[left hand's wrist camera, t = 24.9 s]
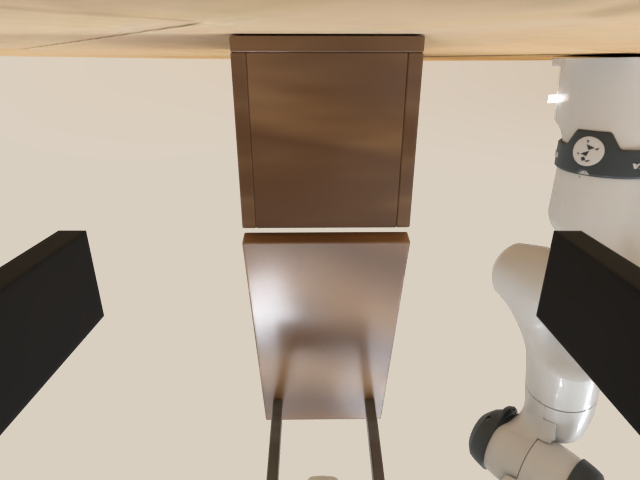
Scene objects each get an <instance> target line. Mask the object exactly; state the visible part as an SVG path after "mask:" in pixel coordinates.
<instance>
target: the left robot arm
mask: <svg viewBox="0 0 640 480" xmlns="http://www.w3.org/2000/svg"><path fill="white" fill-rule="evenodd" d="M103 316H104V314H103V309H102V305H101V300H100V295H99V290H98V286H97V281H96V276H95V271H94V267H93V262H92V257H91V252H90V248H89V243H88V238H87V234H86V231H57V232H56V233H54V234H53V235H51V236H49V237H48V238H46V239H45V240H43V241H41V242H40V243H38V244H37V245H35V246H33V247H32V248H30V249H29V250H27V251H25V252H24V253H22V254H21V255H19V256H17V257H16V258H14V259H13V260H11V261H10V262H8V263H6V264H5V265H3V266H1V267H0V435H1V434H2V433H3V431H4V430H5V429H6V428H7V427H8V426H9V425H10V423H11V422H12V421H13V420H14V419H15V418H16V417H17V415H18V414H19V413H20V412H21V411H22V410H23V408H24V407H25V406H26V405H27V404H28V403H29V402H30V400H31V399H32V398H33V397H34V396H35V395H36V393H37V392H38V391H39V390H40V389H41V388H42V387H43V385H44V384H45V383H46V382H47V381H48V380H49V378H50V377H51V376H52V375H53V374H54V373H55V372H56V370H57V369H58V368H59V367H60V366H61V365H62V364H63V362H64V361H65V360H66V359H67V358H68V357H69V355H70V354H71V353H72V352H73V351H74V350H75V349H76V347H77V346H78V345H79V344H80V343H81V342H82V340H83V339H84V338H85V337H86V336H87V335H88V334H89V332H90V331H91V330H92V329H93V328H94V327H95V325H96V324H97V323H98V322H99V321H100V320H101V319H102V317H103ZM536 316H537V317H538V319H539V320H540V321H541V322H542V323H543V324H544V326H545V327H546V328H547V329H548V330H549V331H550V332H551V334H552V335H553V336H554V337H555V338H556V339H557V340H558V342H559V343H560V344H561V345H562V346H563V347H564V349H565V350H566V351H567V352H568V353H569V354H570V355H571V357H572V358H573V359H574V360H575V361H576V362H577V364H578V365H579V366H580V367H581V368H582V369H583V370H584V372H585V373H586V374H587V375H588V376H589V377H590V378H591V380H592V381H593V382H594V383H595V384H596V385H597V387H598V388H599V389H600V390H601V391H602V392H603V393H604V395H605V396H606V397H607V398H608V399H609V400H610V402H611V403H612V404H613V405H614V406H615V407H616V408H617V410H618V411H619V412H620V413H621V414H622V415H623V416H624V418H625V419H626V420H627V421H628V422H629V423H630V425H631V426H632V427H633V428H634V429H635V430H636V431H637V433H638V434H639V435H640V267H639V266H637V265H635V264H634V263H632V262H631V261H629V260H627V259H626V258H624V257H623V256H621V255H619V254H618V253H616V252H615V251H613V250H611V249H610V248H608V247H607V246H605V245H603V244H602V243H600V242H599V241H597V240H595V239H594V238H592V237H591V236H589V235H587V234H586V233H584V232H583V231H554V234H553V238H552V243H551V248H550V252H549V257H548V262H547V267H546V271H545V276H544V281H543V285H542V290H541V295H540V300H539V304H538V309H537V314H536Z"/></svg>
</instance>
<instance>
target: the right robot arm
mask: <svg viewBox="0 0 640 480" xmlns="http://www.w3.org/2000/svg"><path fill="white" fill-rule="evenodd" d="M552 65H553V66H560V71H559V79H558V88H557V95H549V99H548V103H555V102H556V106H555V116H554V118H555V121H556V123H557V124H558V125H559V127H560V129H561V133H562V138H561V139H560V140H559V141H558V146H557V150H556V152H555V156H556V158H555V165H556V166H557V170H556V175H555V180H554V185H553V190H552V194H551V199H550V204H549V210H548V214H549V219H550V222H551V224H552V226H553V227H554V229H555V230H556V231H583V232H584V233H586V234H587V235H589V236H591V237H592V238H594V239H595V240H597V241H599V242H600V243H602V244H603V245H605V246H607V247H608V248H610V249H611V250H613V251H615V252H616V253H618V254H619V255H621V256H623V257H624V258H626V259H627V260H629V261H631V262H632V263H634V264H635V265H637V266H639V267H640V57H604V58H553V62H552ZM549 252H550V248H548V247H543V246H537V245H530V244H522V243H517V244H514V245H512V246H510V247H508V248H507V249H505V250H504V251H503V252H502V253H501V254H500V255H499V257H498V258H497V260H496V262H495V264H494V267H493V271H492V281H493V286H494V288H495V290H496V291H497V292H498V293H499V295H500V296H501V297H502V298H503V299H504V301H505V302H506V303H507V305H508V306H509V308H510V309H511V311H512V313H513V315H514V317H515V319H516V321H517V323H518V325H519V328H520V330H521V332H522V335H523V338H524V341H525V345H526V380H525V404H524V407H523V409H522V411H521V412H520V413H519V414H517V409H516V408H515V407H512V406H508V407H506V408H504V409H503V410H494V411H491V412H489V413H486V414H485V415H483V416H482V417H481V418H480V419H479V420H478V422H477V423H476V424H475V426H474V428H473V430H472V433H471V436H470V439H469V449H470V454H471V455H472V457H473V458H474V459H475V460H476V461H477V462H478V463H479V464H480V465H481V466H482V467H483V468H484V469H488V470H489V471H490V472H491V473H492V474H493V475H494V476H496V477H497V478H498V479H499V480H604V477H603V475H602V474H601V473H600V472H599V471H598V470H597V469H596V468H595V467H594V466H593V465H591V464H590V463H589V462H588V461H586V460H585V459H582V460H581V459H580V458H579V457H577V456H576V455H575V454H573V453H572V452H571V451H569V450H568V449H566V448H565V447H563V446H562V445H560V444H561V443H571V442H575V441H577V440H578V439H580V438H581V437H582V436H583V435H584V433H585V431H586V430H587V428H588V426H589V424H590V422H591V420H592V417H593V415H594V411H595V408H596V405H597V400H598V395H599V390H600V389H599V388H598V387H597V385H596V384H595V383H594V382H593V381H592V380H591V378H590V377H589V376H588V375H587V374H586V373H585V372H584V370H583V369H582V368H581V367H580V366H579V365H578V364H577V362H576V361H575V360H574V359H573V358H572V357H571V355H570V354H569V353H568V352H567V351H566V350H565V349H564V347H563V346H562V345H561V344H560V343H559V342H558V340H557V339H556V338H555V337H554V336H553V335H552V334H551V332H550V331H549V330H548V329H547V328H546V327H545V326H544V324H543V323H542V322H541V321H540V320H539V319H538V317H537V316H536V314H537V309H538V304H539V300H540V295H541V290H542V285H543V281H544V276H545V271H546V267H547V262H548V257H549ZM308 480H338V479H337V478H336V477H332V476H313V477H310V478H309V479H308Z"/></svg>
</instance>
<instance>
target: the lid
mask: <svg viewBox="0 0 640 480" xmlns="http://www.w3.org/2000/svg"><path fill="white" fill-rule="evenodd" d="M409 245H410V241H409V237H408V234H407V232H323V233H322V232H317V233H245V234H244V238H243V251H244V258H245V266H246V273H247V280H248V288H249V295H250V303H251V310H252V317H253V325H254V332H255V339H256V347H257V354H258V361H259V369H260V376H261V384H262V391H263V399H264V406H265V413H266V419H267V420H271V432H270V445H269V457H268V469H267V480H278V477H279V460H280V444H281V427H282V420H292V419H366V421H367V431H368V441H369V451H370V460H371V470H372V480H384V472H383V464H382V455H381V447H380V439H379V431H378V423H377V419H380V418H381V413H382V407H383V401H384V395H385V389H386V383H387V377H388V371H389V365H390V359H391V353H392V347H393V341H394V335H395V329H396V323H397V317H398V311H399V305H400V299H401V293H402V287H403V281H404V275H405V269H406V263H407V257H408V251H409Z"/></svg>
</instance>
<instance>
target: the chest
mask: <svg viewBox="0 0 640 480" xmlns="http://www.w3.org/2000/svg"><path fill="white" fill-rule="evenodd" d="M229 38H230V51H231V52H232V53H231V68H232V82H233V96H234V111H235V125H236V139H237V153H238V167H239V182H240V196H241V211H242V225H243V228H256V227H257V228H321V227H322V228H325V227H396V226H397V227H409V225H410V213H411V201H412V188H413V176H414V163H415V151H416V139H417V127H418V114H419V102H420V89H421V77H422V65H423V53H422V52H423V51H424V41H425V37H424V36H245V35H231V36H230V37H229Z"/></svg>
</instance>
